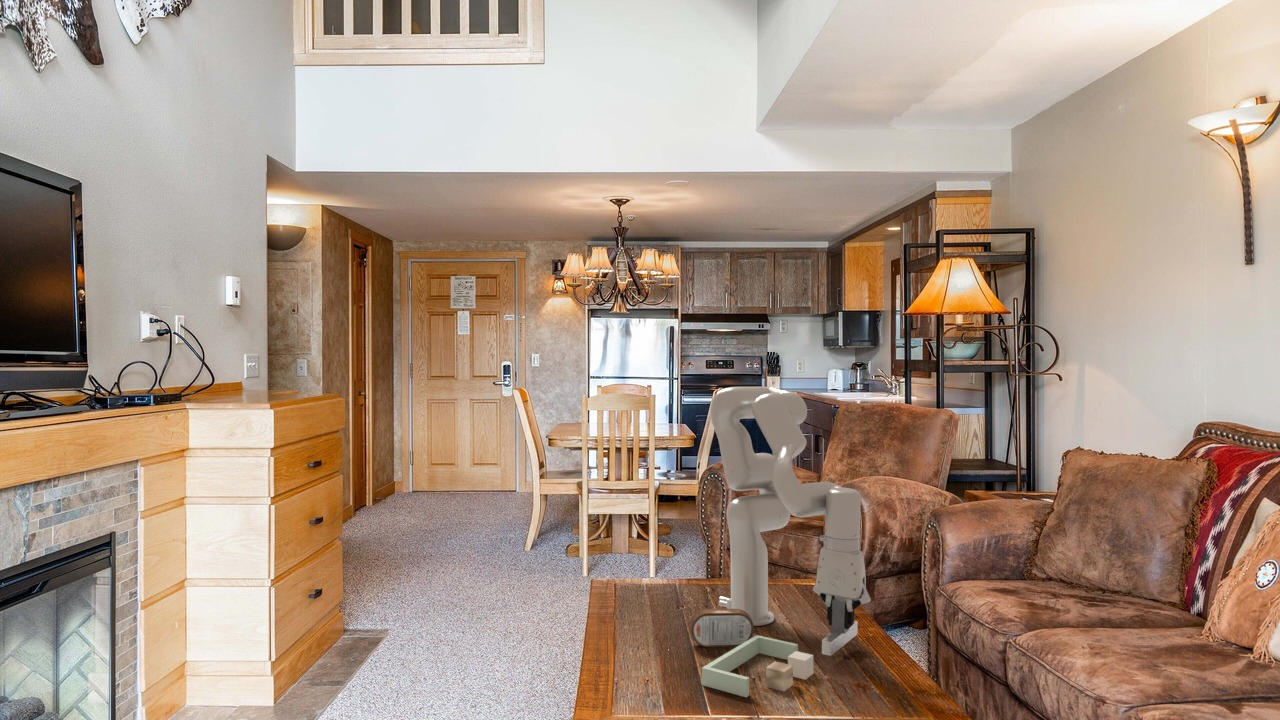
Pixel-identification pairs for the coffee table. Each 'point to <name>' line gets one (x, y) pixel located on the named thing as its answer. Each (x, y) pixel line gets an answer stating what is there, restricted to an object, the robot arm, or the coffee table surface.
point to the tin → (721, 627)
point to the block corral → (720, 668)
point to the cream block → (801, 664)
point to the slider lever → (838, 628)
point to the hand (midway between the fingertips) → (840, 624)
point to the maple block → (779, 676)
